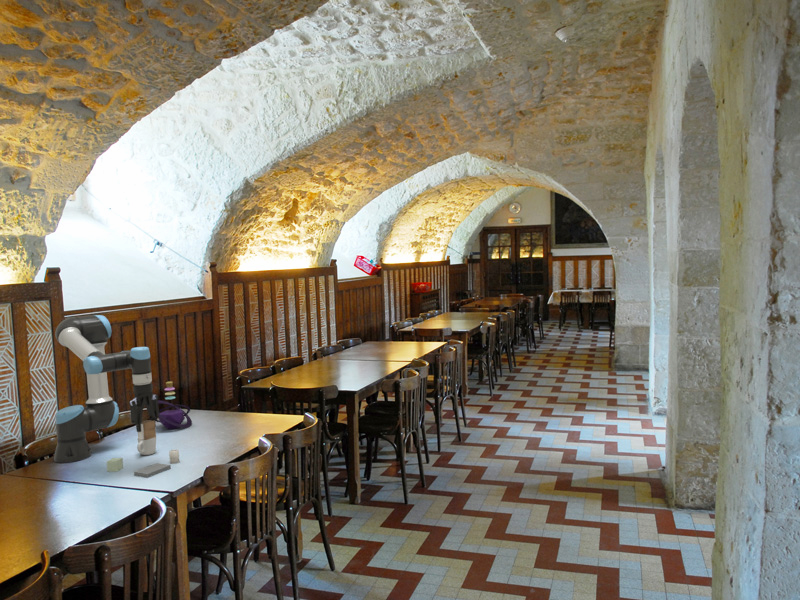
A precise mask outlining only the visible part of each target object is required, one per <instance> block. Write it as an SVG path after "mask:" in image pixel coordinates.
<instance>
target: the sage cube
mask: <svg viewBox="0 0 800 600" xmlns="http://www.w3.org/2000/svg"><path fill="white" fill-rule="evenodd" d="M106 469H107V470H106V471H107V472H109V473H110V472H119V471H121V470H122V469H124V460H123V457H112V458H110V459H108V460H106Z"/></svg>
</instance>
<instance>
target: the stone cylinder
mask: <svg viewBox="0 0 800 600" xmlns="http://www.w3.org/2000/svg"><path fill="white" fill-rule="evenodd" d="M168 456H169V464H170V465H171V464H172V465H173V464H178V463H180V451H179V449H171V450H169V451H168Z"/></svg>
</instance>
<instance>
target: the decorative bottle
mask: <svg viewBox="0 0 800 600" xmlns="http://www.w3.org/2000/svg"><path fill="white" fill-rule="evenodd" d="M173 383H174V382H173V381H172V380H171V381H167V382H165V385H166V388H164V391H167V392H165V393H164V395H165V396H166V397H164V399H165V400H167V401H165V400H159V399H158V405H160V404H164V405H167V406H166V407H164V408H161V409H160V410H159V417H158V419H157V420H155V422H157V423H161V425H162V426H164V428H166V430H174V429H178V428H183V429H185V428H190V427H191V426H192V425H193V423H192V422H193V421H192V419H191V417H190V416H189V413H190V412H191V408H190V406H188V405H186V404H185V405H184V404H173V403H171V402H168V401H170V400H175V399H176V396H175V394H176V392H175V391H174V390H175V389H176V388H175V387H173ZM181 407H183V408H186V409H187V411H184V410H183V409H182V408H181ZM169 408H173V409H169ZM185 419H186V423H183V422H184V421H185Z"/></svg>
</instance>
